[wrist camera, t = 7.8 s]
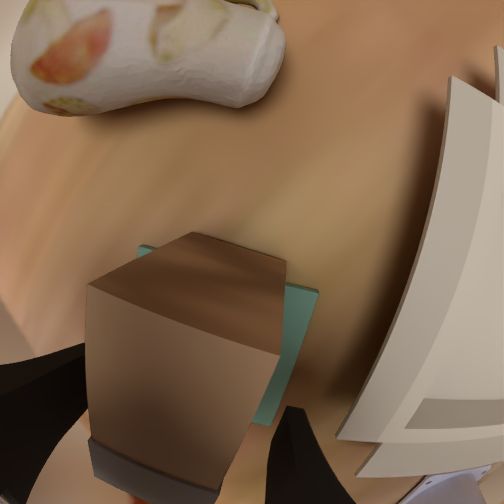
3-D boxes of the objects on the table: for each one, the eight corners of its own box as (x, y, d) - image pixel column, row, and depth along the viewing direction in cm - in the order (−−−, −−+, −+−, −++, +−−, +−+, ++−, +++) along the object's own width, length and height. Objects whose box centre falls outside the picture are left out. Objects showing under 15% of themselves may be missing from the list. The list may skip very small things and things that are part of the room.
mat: (270, 421, 14) (270, 426, 14) (133, 379, 15) (130, 383, 14) (318, 290, 12) (318, 293, 12) (142, 244, 13) (138, 246, 13)
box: (288, 262, 12) (285, 360, 5) (236, 406, 14) (203, 521, 7) (190, 231, 12) (81, 283, 5) (159, 378, 14) (94, 476, 7)
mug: (282, 161, 12) (7, 173, 4) (155, 108, 16) (-6, 109, 8) (341, 5, 8) (126, -138, 1) (191, 0, 12) (36, -35, 5)
